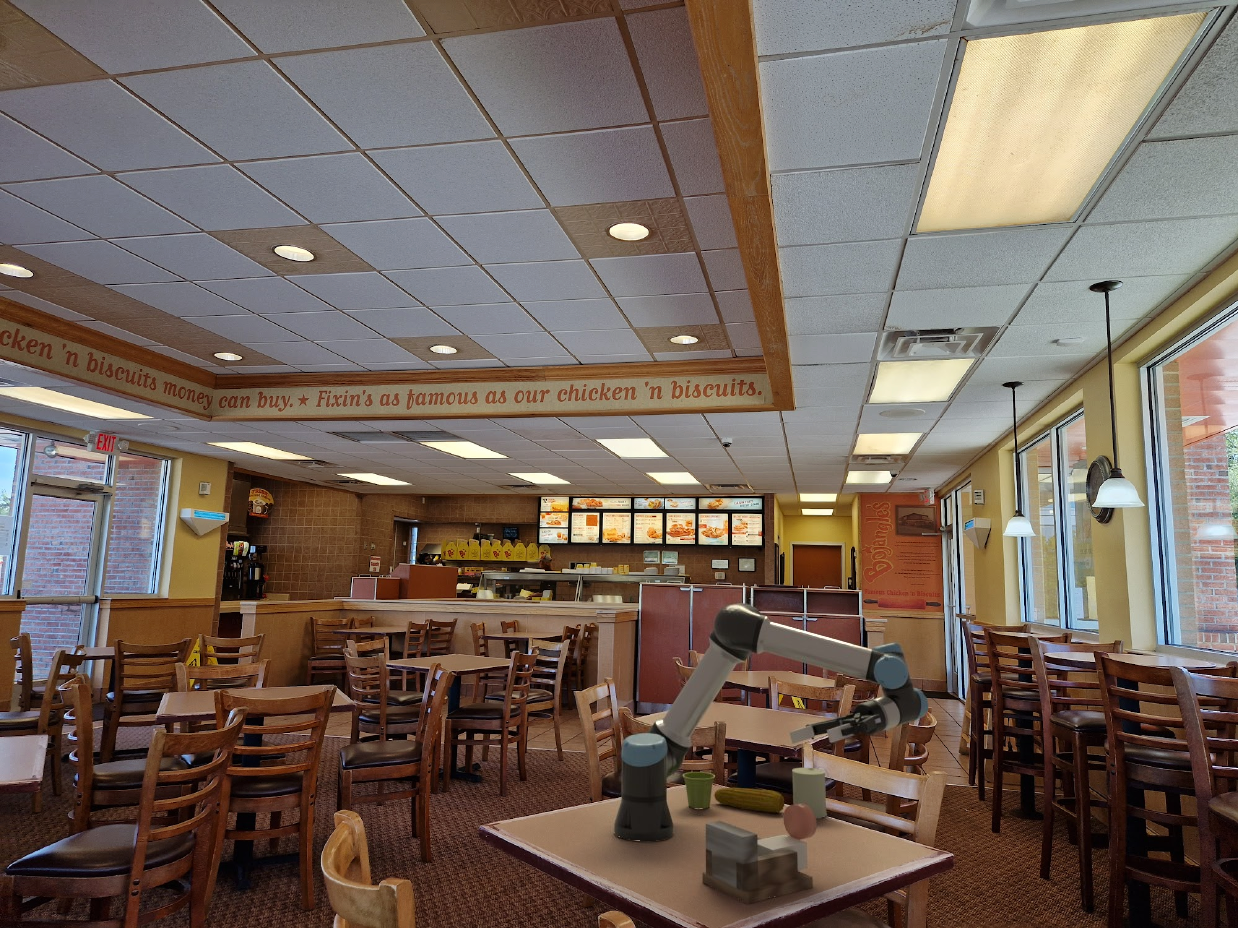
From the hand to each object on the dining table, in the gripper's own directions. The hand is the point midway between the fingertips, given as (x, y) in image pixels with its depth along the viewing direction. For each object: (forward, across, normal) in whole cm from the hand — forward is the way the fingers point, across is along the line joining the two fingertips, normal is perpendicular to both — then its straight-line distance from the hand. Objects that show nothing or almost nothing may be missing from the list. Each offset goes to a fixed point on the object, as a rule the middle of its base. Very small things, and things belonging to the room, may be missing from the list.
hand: (809, 736), depth 182 cm
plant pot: (0, +57, -18) cm, 60 cm away
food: (-11, +50, -22) cm, 56 cm away
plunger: (+16, 0, -23) cm, 28 cm away
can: (-23, +38, -26) cm, 52 cm away
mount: (+24, -1, -24) cm, 34 cm away
